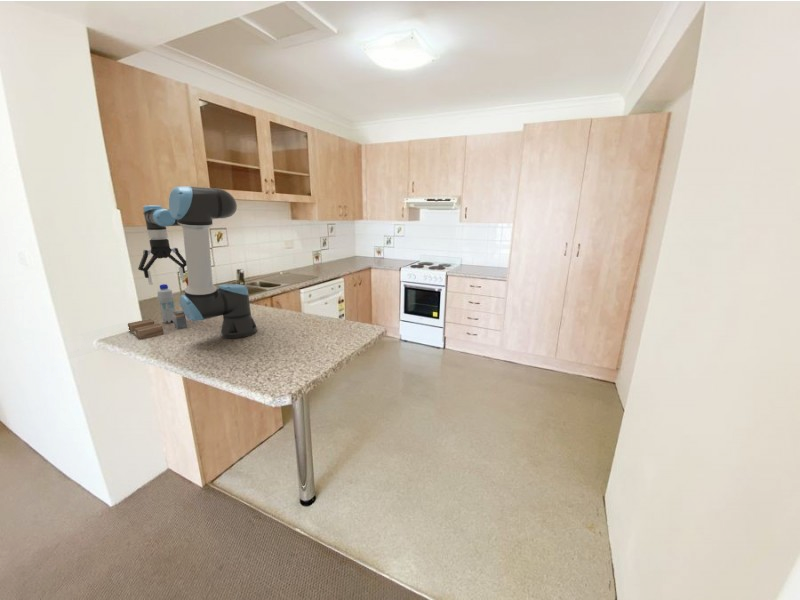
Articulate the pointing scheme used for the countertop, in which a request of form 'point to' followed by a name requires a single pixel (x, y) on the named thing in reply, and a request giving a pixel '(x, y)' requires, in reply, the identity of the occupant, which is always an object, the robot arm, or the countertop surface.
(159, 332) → the brown ridged block
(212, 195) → the robot arm
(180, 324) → the grey rectangular block
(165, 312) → the bottle
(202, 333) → the countertop surface
